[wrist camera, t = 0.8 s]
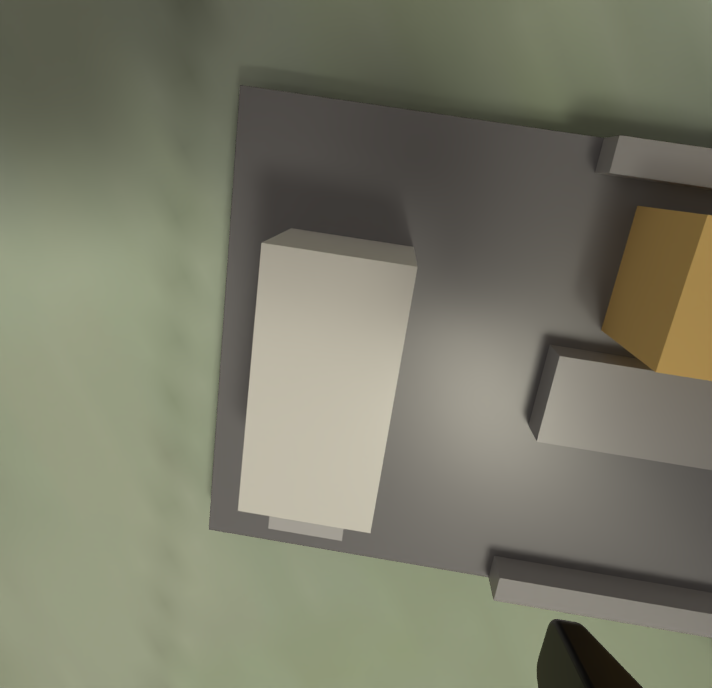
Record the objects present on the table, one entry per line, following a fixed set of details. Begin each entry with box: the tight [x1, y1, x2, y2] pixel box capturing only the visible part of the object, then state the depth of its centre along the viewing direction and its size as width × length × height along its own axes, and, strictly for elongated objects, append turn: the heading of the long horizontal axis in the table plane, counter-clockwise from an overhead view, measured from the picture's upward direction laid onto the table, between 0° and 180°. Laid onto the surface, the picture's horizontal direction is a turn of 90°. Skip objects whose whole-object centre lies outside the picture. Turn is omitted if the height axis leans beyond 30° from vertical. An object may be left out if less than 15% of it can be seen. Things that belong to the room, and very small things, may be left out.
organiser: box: [209, 85, 712, 638], centre depth 19 cm, size 23×16×3 cm
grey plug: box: [238, 228, 418, 541], centre depth 17 cm, size 4×9×4 cm, turn 172°
